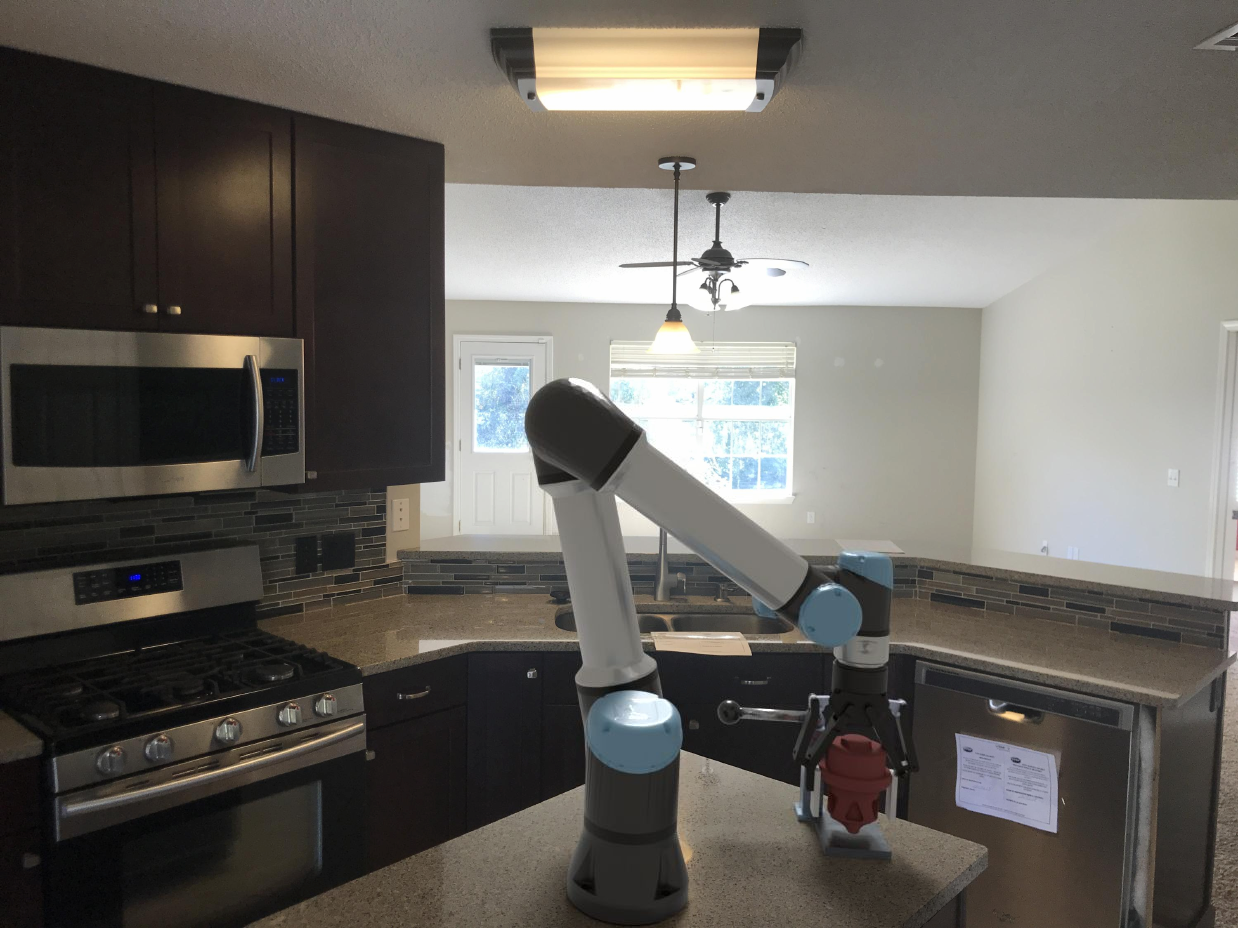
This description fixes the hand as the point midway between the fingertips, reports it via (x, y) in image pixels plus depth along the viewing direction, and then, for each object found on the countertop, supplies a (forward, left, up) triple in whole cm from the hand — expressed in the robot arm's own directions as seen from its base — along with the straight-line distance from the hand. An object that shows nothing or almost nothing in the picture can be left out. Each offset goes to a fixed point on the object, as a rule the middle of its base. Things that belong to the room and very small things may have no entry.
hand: (852, 815), depth 120 cm
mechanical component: (0, 0, -1) cm, 1 cm away
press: (-1, +3, -4) cm, 5 cm away
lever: (-11, +8, +9) cm, 17 cm away
